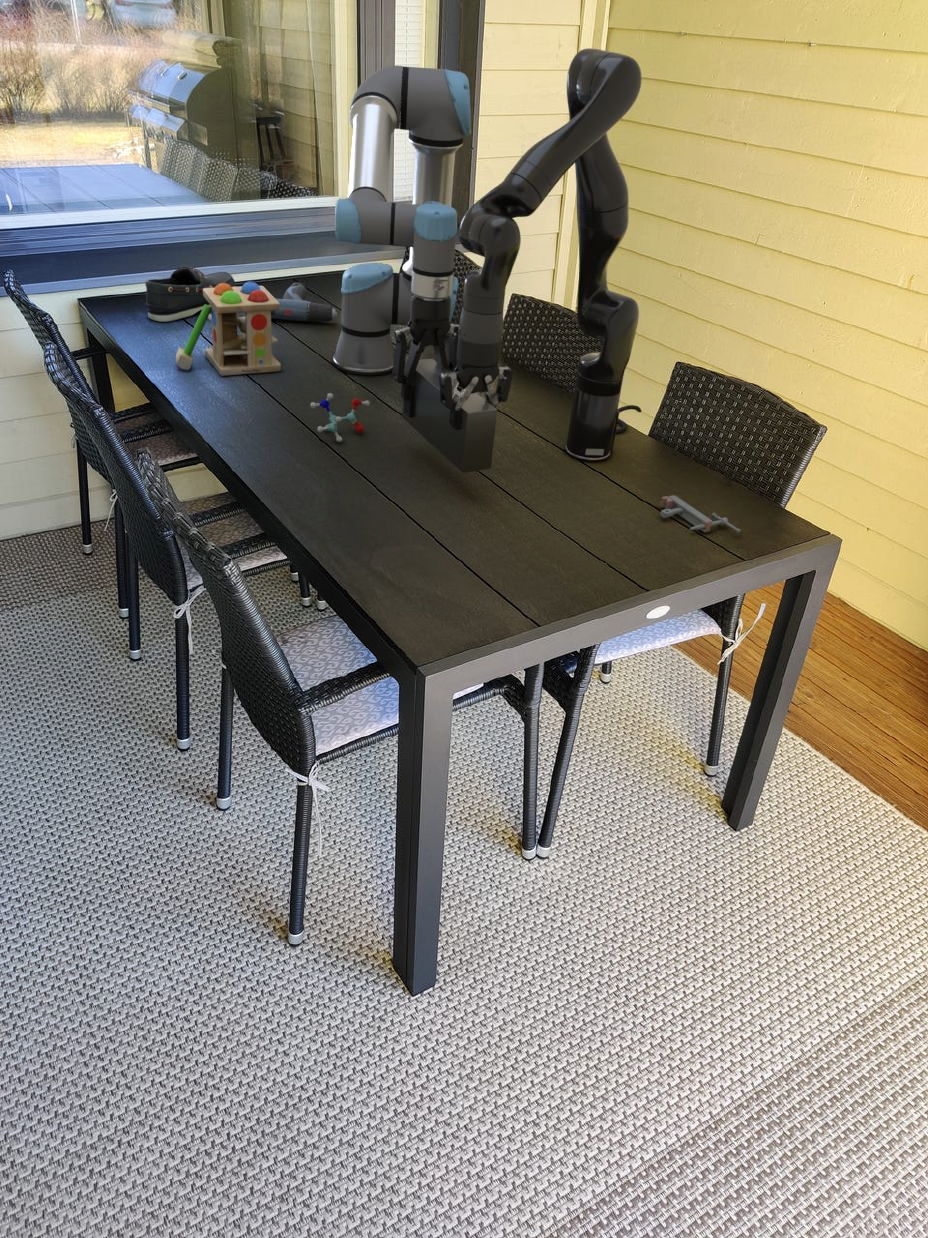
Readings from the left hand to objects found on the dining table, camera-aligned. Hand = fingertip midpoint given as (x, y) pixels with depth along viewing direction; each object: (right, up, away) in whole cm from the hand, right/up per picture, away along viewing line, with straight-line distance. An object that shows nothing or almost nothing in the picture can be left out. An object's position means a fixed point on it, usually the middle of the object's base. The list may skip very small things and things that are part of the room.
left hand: (423, 412), depth 194 cm
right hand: (+9, -6, -17) cm, 20 cm away
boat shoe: (-65, +43, +70) cm, 105 cm away
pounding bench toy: (-48, +19, +36) cm, 63 cm away
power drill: (-35, +43, +73) cm, 91 cm away
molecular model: (-18, -2, +10) cm, 21 cm away
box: (+4, -7, -6) cm, 10 cm away
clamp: (+51, -23, -10) cm, 57 cm away
